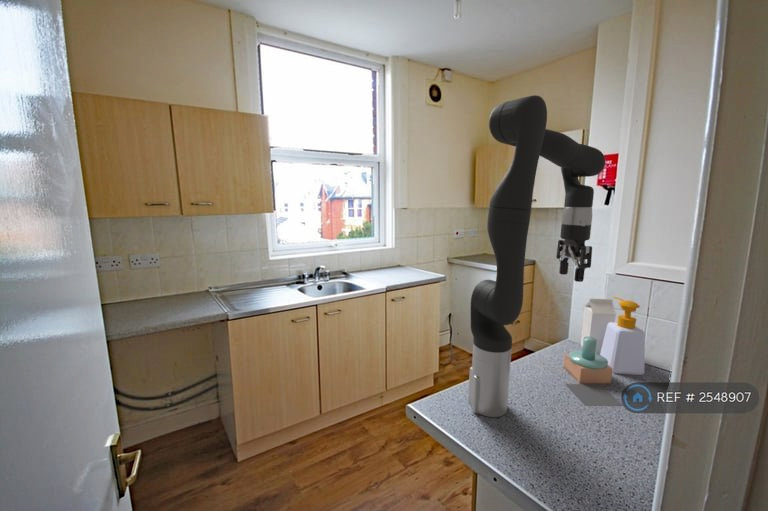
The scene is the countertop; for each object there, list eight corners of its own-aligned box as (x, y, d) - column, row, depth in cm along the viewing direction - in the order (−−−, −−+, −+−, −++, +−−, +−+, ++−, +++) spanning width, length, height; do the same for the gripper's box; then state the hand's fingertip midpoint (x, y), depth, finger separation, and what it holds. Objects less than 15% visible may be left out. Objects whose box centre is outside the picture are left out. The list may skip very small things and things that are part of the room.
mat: (584, 406, 88) (584, 405, 88) (564, 385, 98) (564, 383, 98) (623, 406, 88) (623, 405, 88) (599, 385, 98) (599, 384, 98)
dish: (579, 384, 98) (581, 368, 97) (563, 368, 107) (564, 353, 106) (610, 384, 98) (612, 368, 97) (592, 368, 107) (593, 353, 106)
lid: (580, 369, 97) (582, 346, 96) (562, 353, 107) (564, 332, 106) (615, 369, 97) (618, 346, 96) (594, 353, 107) (596, 332, 105)
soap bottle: (621, 355, 116) (629, 293, 112) (646, 377, 102) (656, 306, 98) (591, 353, 117) (598, 292, 113) (611, 374, 103) (620, 305, 99)
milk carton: (610, 356, 115) (617, 302, 112) (587, 354, 117) (593, 301, 113) (601, 347, 122) (608, 296, 119) (580, 345, 123) (585, 295, 120)
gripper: (551, 220, 104) (546, 272, 107) (576, 225, 90) (570, 283, 93) (575, 221, 104) (570, 272, 107) (605, 225, 90) (598, 284, 93)
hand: (570, 277), depth 100 cm, fingers open, 8 cm apart
